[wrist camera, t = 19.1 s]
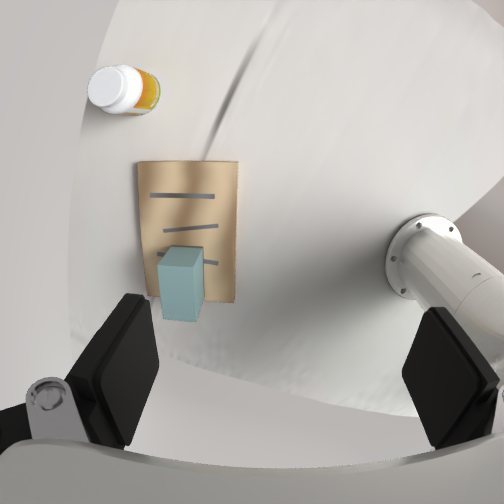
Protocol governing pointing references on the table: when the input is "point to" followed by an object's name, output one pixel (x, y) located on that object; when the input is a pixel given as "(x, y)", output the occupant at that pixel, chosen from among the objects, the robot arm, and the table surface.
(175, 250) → the block
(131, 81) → the supplement bottle
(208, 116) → the table surface
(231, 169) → the board
